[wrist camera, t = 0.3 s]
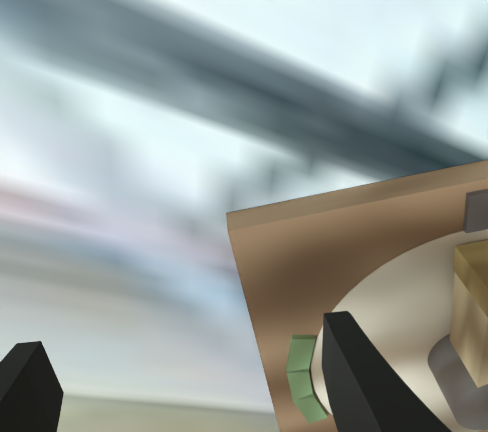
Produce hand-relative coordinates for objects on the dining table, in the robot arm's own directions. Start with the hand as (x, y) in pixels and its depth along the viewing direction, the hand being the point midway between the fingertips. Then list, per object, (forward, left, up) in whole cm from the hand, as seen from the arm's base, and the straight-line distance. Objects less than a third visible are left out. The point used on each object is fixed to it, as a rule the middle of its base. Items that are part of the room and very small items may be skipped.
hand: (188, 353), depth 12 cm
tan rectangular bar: (-10, -12, -8) cm, 18 cm away
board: (-13, -12, -10) cm, 20 cm away
